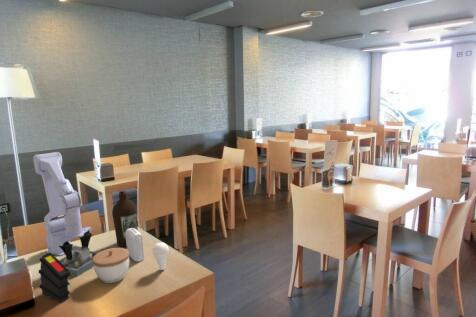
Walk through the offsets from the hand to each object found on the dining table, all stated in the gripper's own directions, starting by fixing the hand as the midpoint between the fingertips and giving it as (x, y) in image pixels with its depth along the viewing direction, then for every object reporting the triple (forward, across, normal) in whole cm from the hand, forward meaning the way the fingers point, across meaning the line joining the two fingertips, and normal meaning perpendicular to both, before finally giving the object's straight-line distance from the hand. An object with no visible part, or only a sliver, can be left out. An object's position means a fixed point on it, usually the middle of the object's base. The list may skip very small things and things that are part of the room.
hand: (77, 254), depth 133 cm
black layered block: (+4, -19, -12) cm, 23 cm away
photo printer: (+4, +13, -18) cm, 23 cm away
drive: (+3, 0, 0) cm, 3 cm away
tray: (+4, 0, 0) cm, 4 cm away
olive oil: (+4, +23, -5) cm, 24 cm away
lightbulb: (+4, +8, -35) cm, 36 cm away
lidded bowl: (+4, -3, -21) cm, 22 cm away
